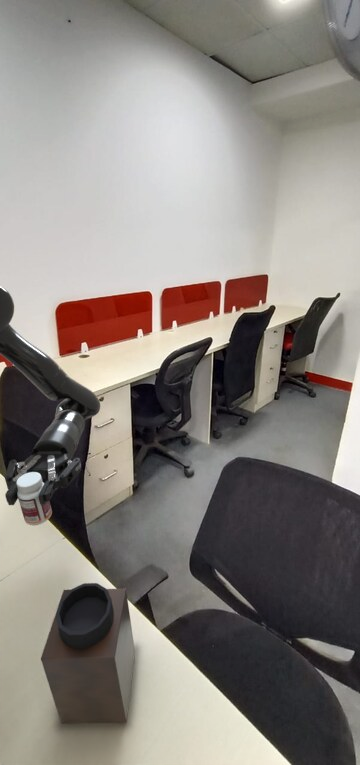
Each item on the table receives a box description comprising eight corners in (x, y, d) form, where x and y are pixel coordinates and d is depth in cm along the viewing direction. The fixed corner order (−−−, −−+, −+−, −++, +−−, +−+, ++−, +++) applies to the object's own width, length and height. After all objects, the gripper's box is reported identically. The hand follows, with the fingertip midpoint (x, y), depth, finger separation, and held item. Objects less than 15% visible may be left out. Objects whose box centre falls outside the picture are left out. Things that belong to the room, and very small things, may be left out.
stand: (60, 723, 54) (40, 658, 48) (78, 651, 63) (63, 589, 57) (126, 722, 54) (114, 657, 47) (135, 650, 63) (125, 588, 57)
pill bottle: (44, 503, 68) (36, 466, 64) (56, 515, 65) (48, 478, 61) (20, 516, 65) (9, 479, 61) (31, 530, 62) (20, 492, 58)
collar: (51, 649, 49) (47, 636, 48) (68, 595, 56) (65, 582, 55) (108, 648, 48) (105, 635, 47) (117, 594, 56) (115, 581, 55)
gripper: (20, 429, 74) (-23, 484, 58) (89, 427, 74) (64, 481, 58) (28, 459, 77) (-12, 519, 61) (94, 458, 77) (71, 517, 61)
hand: (25, 500), depth 60 cm, fingers closed on pill bottle, 4 cm apart
